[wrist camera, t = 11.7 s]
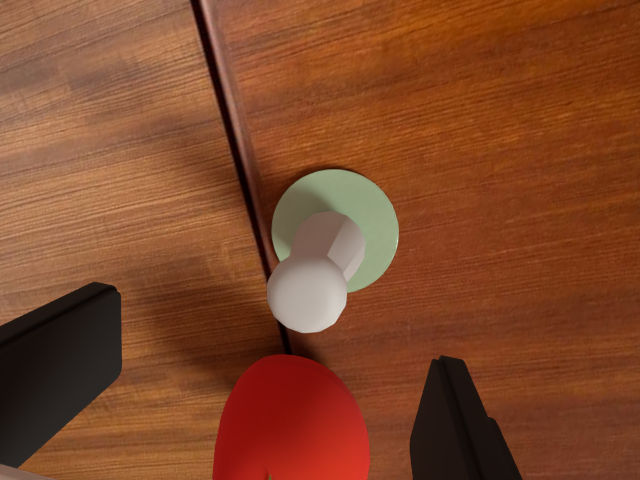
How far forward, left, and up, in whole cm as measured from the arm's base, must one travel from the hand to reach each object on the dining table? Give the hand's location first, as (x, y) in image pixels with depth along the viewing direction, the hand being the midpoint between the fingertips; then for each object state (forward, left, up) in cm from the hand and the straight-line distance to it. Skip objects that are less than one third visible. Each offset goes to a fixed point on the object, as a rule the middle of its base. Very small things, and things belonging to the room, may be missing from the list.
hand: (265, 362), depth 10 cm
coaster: (+1, -1, -21) cm, 21 cm away
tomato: (+12, -12, -21) cm, 27 cm away
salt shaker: (+1, -1, -20) cm, 20 cm away
